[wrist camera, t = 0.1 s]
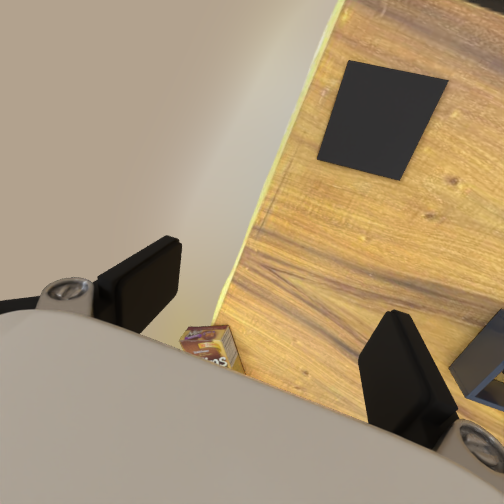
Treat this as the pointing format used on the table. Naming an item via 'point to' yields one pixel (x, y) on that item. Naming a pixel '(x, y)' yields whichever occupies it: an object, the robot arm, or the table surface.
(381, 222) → the table surface
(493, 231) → the table surface
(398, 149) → the mat
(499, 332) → the caddy
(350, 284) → the table surface
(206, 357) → the candy box
